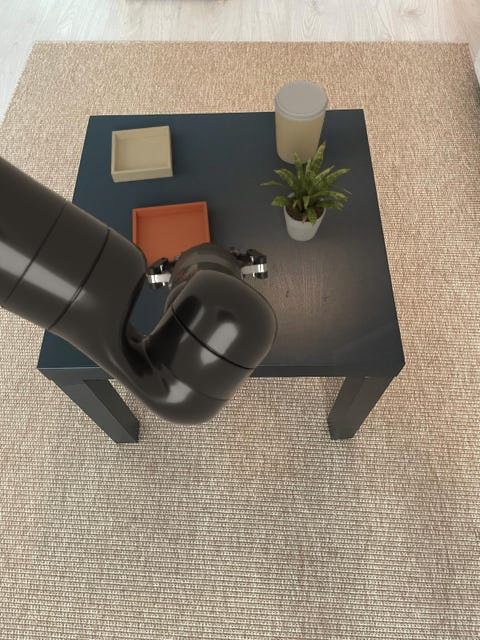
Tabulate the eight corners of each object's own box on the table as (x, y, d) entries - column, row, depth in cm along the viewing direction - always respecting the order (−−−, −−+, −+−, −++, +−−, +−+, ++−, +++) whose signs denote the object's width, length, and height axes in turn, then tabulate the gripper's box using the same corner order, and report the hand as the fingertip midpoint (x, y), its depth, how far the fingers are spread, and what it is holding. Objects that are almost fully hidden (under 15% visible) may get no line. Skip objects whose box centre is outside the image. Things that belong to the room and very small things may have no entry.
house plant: (281, 280, 80) (286, 218, 66) (243, 222, 86) (240, 153, 72) (353, 247, 83) (373, 180, 68) (312, 192, 89) (322, 120, 74)
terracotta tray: (135, 278, 82) (132, 271, 80) (135, 217, 88) (132, 208, 85) (213, 270, 82) (211, 262, 80) (207, 209, 88) (206, 201, 86)
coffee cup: (315, 130, 96) (322, 76, 85) (324, 165, 92) (333, 112, 81) (269, 135, 96) (270, 81, 85) (276, 170, 91) (278, 118, 81)
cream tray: (114, 182, 91) (111, 173, 89) (115, 140, 96) (112, 131, 94) (172, 176, 92) (170, 167, 90) (170, 134, 97) (168, 125, 95)
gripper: (276, 243, 47) (260, 223, 63) (128, 257, 46) (150, 233, 62) (281, 316, 49) (264, 278, 65) (140, 330, 49) (158, 289, 65)
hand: (208, 256), depth 64 cm, fingers closed on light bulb, 5 cm apart
